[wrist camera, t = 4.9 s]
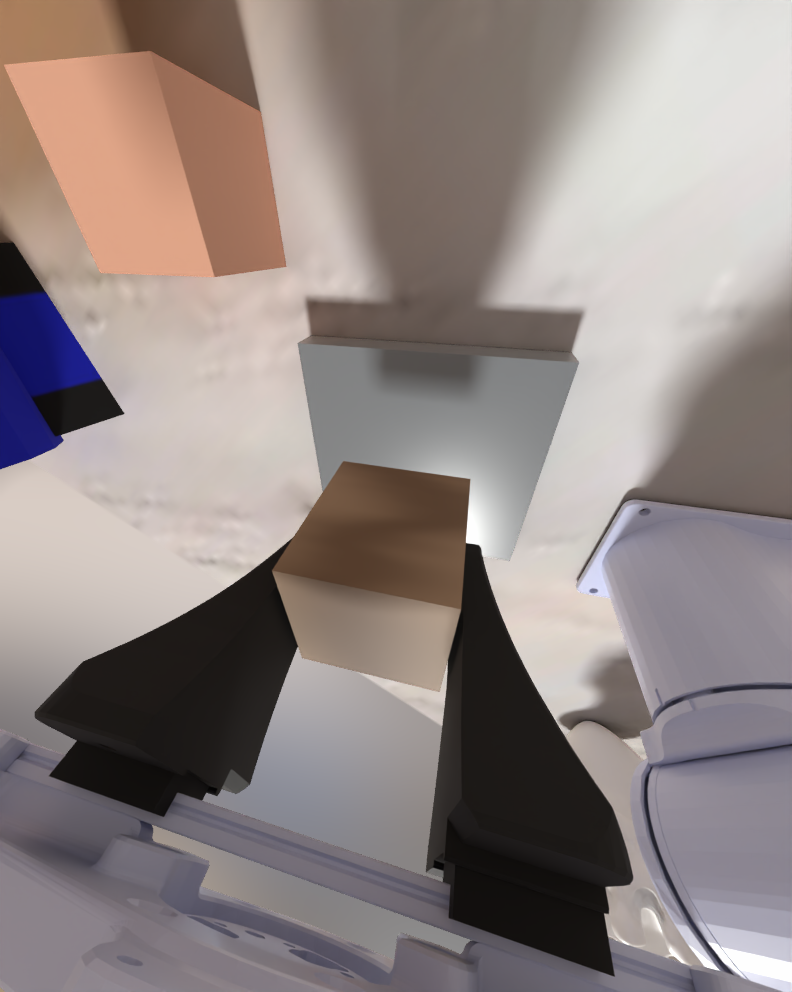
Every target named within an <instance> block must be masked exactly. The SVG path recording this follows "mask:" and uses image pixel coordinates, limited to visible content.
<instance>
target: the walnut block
mask: <svg viewBox="0 0 792 992" xmlns="http://www.w3.org/2000/svg"><path fill="white" fill-rule="evenodd" d="M470 480H471V479H467V478H460V477H453V476H446V475H439V474H432V473H425V472H418V471H411V470H403V469H396V468H389V467H382V466H375V465H368V464H361V463H354V462H347V461H343V462H342V464H341V465H340V467H339V468H338V470H337V471H336V473H335V474H334V476H333V477H332V479H331V480H330V482H329V484H328V485H327V487H326V488H325V490H324V491H323V493H322V494H321V496H320V497H319V499H318V500H317V502H316V504H315V505H314V507H313V508H312V510H311V511H310V513H309V514H308V516H307V517H306V519H305V520H304V522H303V524H302V525H301V527H300V528H299V530H298V531H297V533H296V534H295V536H294V537H293V539H292V540H291V542H290V544H289V545H288V547H287V548H286V550H285V551H284V553H283V554H282V556H281V557H280V559H279V560H278V562H277V564H276V565H275V567H274V568H273V570H272V572H273V575H274V578H275V581H276V584H277V587H278V590H279V592H280V595H281V598H282V601H283V604H284V607H285V610H286V613H287V616H288V619H289V621H290V624H291V627H292V630H293V633H294V636H295V639H296V642H297V645H298V647H299V650H300V653H301V656H302V658H304V659H308V660H312V661H316V662H320V663H325V664H328V665H333V666H336V667H340V668H344V669H348V670H353V671H357V672H361V673H365V674H369V675H373V676H377V677H381V678H385V679H389V680H393V681H397V682H401V683H405V684H409V685H413V686H417V687H421V688H425V689H429V690H433V691H438V692H440V688H441V684H442V681H443V677H444V673H445V669H446V665H447V661H448V658H449V654H450V650H451V646H452V642H453V638H454V635H455V631H456V627H457V623H458V619H459V615H460V612H461V604H462V590H463V576H464V562H465V549H466V535H467V521H468V507H469V493H470Z"/></svg>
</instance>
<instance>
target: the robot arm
mask: <svg viewBox="0 0 792 992" xmlns="http://www.w3.org/2000/svg"><path fill="white" fill-rule="evenodd" d="M646 508H647V509H646ZM642 509H646V510H644V511H640V510H642ZM292 539H293V538H292ZM292 539H291V540H292ZM291 540H289V541H288V542H287V543H286V544H285V545H284V546H282V547H281V548H280V549H279V550H277V551H276V552H275V553H274V554H273V555H271V556H270V557H269V558H268V559H266V560H265V561H264V562H262V563H261V564H260V565H259V566H257V567H256V568H255V569H253V570H252V571H251V572H249V573H248V574H247V575H245V576H244V577H242V578H241V579H240V580H238V581H237V582H235V583H234V584H232V585H231V586H229V587H228V588H226V589H225V590H223V591H222V592H220V593H219V594H217V595H215V596H214V597H213V598H211V599H209V600H207V601H206V602H204V603H202V604H200V605H199V606H197V607H195V608H194V609H192V610H190V611H188V612H187V613H185V614H183V615H181V616H180V617H178V618H176V619H174V620H172V621H170V622H168V623H166V624H164V625H162V626H160V627H159V628H156V629H154V630H153V631H150V632H148V633H146V634H144V635H142V636H140V637H138V638H136V639H134V640H132V641H130V642H127V643H125V644H123V645H120V646H118V647H116V648H113V649H111V650H109V651H107V652H104V653H102V654H100V655H97V656H95V657H93V658H91V659H88V660H86V661H83V662H82V663H81V664H80V665H79V666H78V667H77V668H76V669H75V670H74V671H73V672H72V674H71V675H70V676H69V677H68V678H67V679H66V680H65V681H64V682H63V683H62V684H61V685H60V686H59V687H58V688H57V689H56V690H55V691H54V692H53V693H52V694H51V696H50V697H49V698H48V699H47V700H46V701H45V702H44V703H43V704H42V705H41V706H40V707H39V708H38V709H37V710H36V711H35V718H36V719H37V720H39V721H40V722H42V723H44V724H46V725H47V726H49V727H51V728H53V729H55V730H57V731H59V732H61V733H63V734H65V735H67V736H69V737H71V738H73V739H75V740H77V742H76V743H75V744H74V745H73V747H72V748H71V749H70V750H69V751H68V753H67V754H66V755H65V754H62V753H59V752H56V751H53V750H50V749H47V748H44V747H42V746H39V745H35V744H33V743H30V742H29V741H28V740H27V739H25V738H22V737H20V736H18V735H15V734H13V733H10V732H8V731H5V730H2V729H0V987H1V988H2V989H3V990H4V991H5V992H792V520H791V519H783V518H775V517H767V516H760V515H752V514H744V513H736V512H729V511H721V510H713V509H706V508H698V507H690V506H682V505H675V504H667V503H659V502H652V501H644V500H629V501H627V502H625V503H624V504H623V505H622V507H621V508H620V510H619V512H618V514H617V515H616V517H615V519H614V520H613V522H612V524H611V526H610V527H609V529H608V531H607V532H606V534H605V536H604V538H603V539H602V541H601V543H600V544H599V546H598V548H597V549H596V551H595V553H594V555H593V556H592V558H591V560H590V561H589V563H588V565H587V567H586V568H585V570H584V572H583V573H582V575H581V577H580V579H579V580H578V582H577V584H576V587H577V590H578V591H579V592H580V593H583V594H589V595H595V596H600V597H606V598H610V599H611V602H612V605H613V608H614V611H615V614H616V617H617V620H618V623H619V626H620V629H621V632H622V634H623V637H624V640H625V643H626V646H627V649H628V652H629V655H630V658H631V661H632V664H633V667H634V670H635V673H636V675H637V678H638V681H639V684H640V687H641V690H642V693H643V696H644V699H645V702H646V705H647V708H648V711H649V713H650V716H651V719H652V722H653V726H652V727H650V728H648V729H646V730H643V731H641V732H640V735H641V738H642V742H643V745H644V748H645V751H646V755H647V759H645V760H643V761H642V762H640V763H639V765H638V766H637V767H636V769H635V771H634V773H633V776H632V780H631V786H630V806H631V814H632V821H633V825H634V830H635V835H636V839H637V842H638V845H639V848H640V852H641V855H642V858H643V860H644V863H645V865H646V868H647V871H648V873H649V876H650V878H651V880H652V882H653V885H654V887H655V889H656V891H657V893H658V895H659V897H660V899H661V901H662V903H663V905H664V907H665V908H666V910H667V912H668V914H669V916H670V917H671V919H672V921H673V923H674V924H675V926H676V927H677V929H678V931H679V932H680V934H681V935H682V937H683V938H684V940H685V941H686V943H687V944H688V946H689V947H690V948H691V950H692V951H693V952H694V954H695V955H696V956H697V957H698V959H699V960H700V961H701V963H702V964H703V965H704V966H700V965H694V964H693V965H692V966H689V965H686V964H683V963H681V962H677V961H674V960H672V959H669V958H666V957H663V956H660V955H657V954H654V953H651V952H648V951H645V950H642V949H639V948H636V947H633V946H630V945H627V944H624V943H621V942H618V941H615V940H612V939H610V938H608V933H607V927H606V922H605V916H604V913H605V914H609V904H608V899H607V893H606V888H605V887H614V886H626V885H630V884H631V882H632V881H633V873H632V868H631V863H630V859H629V855H628V851H627V848H626V845H625V842H624V839H623V835H622V832H621V829H620V826H619V824H618V821H617V818H616V815H615V813H614V810H613V808H612V806H611V804H610V803H609V801H608V800H607V798H606V797H605V796H604V794H603V793H602V791H601V790H600V788H599V787H598V786H597V784H596V783H595V781H594V780H593V778H592V777H591V775H590V774H589V772H588V771H587V769H586V768H585V766H584V765H583V764H582V762H581V761H580V759H579V758H578V756H577V755H576V753H575V751H574V750H573V748H572V747H571V745H570V744H569V742H568V740H567V739H566V737H565V736H564V734H563V733H562V731H561V730H560V728H559V726H558V725H557V723H556V721H555V720H554V718H553V716H552V714H551V713H550V711H549V709H548V708H547V706H546V704H545V703H544V701H543V699H542V697H541V696H540V694H539V692H538V691H537V689H536V687H535V685H534V683H533V682H532V680H531V678H530V676H529V674H528V672H527V670H526V668H525V667H524V665H523V662H522V660H521V658H520V656H519V654H518V652H517V650H516V648H515V646H514V644H513V642H512V640H511V637H510V635H509V633H508V631H507V628H506V626H505V623H504V621H503V619H502V616H501V614H500V611H499V609H498V606H497V603H496V600H495V597H494V595H493V592H492V589H491V586H490V583H489V579H488V576H487V572H486V569H485V565H484V561H483V556H482V550H481V547H480V546H479V545H476V544H470V543H466V549H465V562H464V576H463V590H462V604H461V612H460V615H459V619H458V623H457V627H456V631H455V635H454V638H453V642H452V646H451V650H450V654H449V658H448V674H447V689H446V698H445V708H444V717H443V726H442V735H441V744H440V754H439V762H438V771H437V779H436V788H435V796H434V805H433V813H432V822H431V829H430V838H429V845H428V855H427V865H426V872H427V873H429V874H433V875H435V876H439V877H442V878H443V882H441V881H438V880H435V879H432V878H429V877H426V876H423V875H420V874H417V873H414V872H411V871H408V870H405V869H402V868H399V867H396V866H393V865H390V864H388V863H384V862H382V861H379V860H376V859H373V858H370V857H366V856H364V855H361V854H358V853H355V852H352V851H349V850H346V849H343V848H340V847H337V846H334V845H331V844H328V843H325V842H323V841H320V840H316V839H314V838H311V837H308V836H304V835H302V834H299V833H295V832H293V831H290V830H287V829H284V828H281V827H278V826H275V825H272V824H269V823H266V822H263V821H260V820H257V819H255V818H251V817H249V816H245V815H243V814H240V813H237V812H234V811H231V810H228V809H225V808H222V807H219V806H216V805H213V804H210V803H207V802H204V801H202V800H203V798H204V796H205V794H206V793H209V794H212V795H215V796H218V794H219V793H220V791H221V789H223V790H226V791H229V792H232V793H235V794H237V793H239V792H241V791H242V790H244V789H245V788H246V787H248V785H250V782H251V779H252V775H253V773H254V769H255V766H256V763H257V760H258V756H259V753H260V750H261V747H262V744H263V741H264V737H265V735H266V732H267V729H268V726H269V723H270V720H271V717H272V714H273V711H274V708H275V705H276V703H277V700H278V697H279V694H280V692H281V689H282V686H283V683H284V680H285V678H286V675H287V673H288V670H289V667H290V665H291V662H292V660H293V657H294V654H295V652H296V649H297V647H298V645H297V642H296V639H295V636H294V633H293V630H292V627H291V624H290V621H289V619H288V616H287V613H286V610H285V607H284V604H283V601H282V598H281V595H280V592H279V590H278V587H277V584H276V581H275V578H274V575H273V572H272V570H273V568H274V567H275V565H276V564H277V562H278V560H279V559H280V557H281V556H282V554H283V553H284V551H285V550H286V548H287V547H288V545H289V544H290V542H291ZM151 824H152V825H155V826H157V827H160V828H163V829H166V830H168V831H171V832H174V833H177V834H179V835H182V836H185V837H188V838H190V839H193V840H196V841H199V842H202V843H204V844H207V845H210V846H213V847H215V848H218V849H221V850H224V851H227V852H229V853H232V854H235V855H237V856H240V857H243V858H246V859H249V860H251V861H254V862H257V863H260V864H263V865H265V866H268V867H271V868H273V869H276V870H279V871H282V872H285V873H287V874H290V875H293V876H296V877H298V878H301V879H304V880H307V881H309V882H312V883H315V884H318V885H321V886H323V887H326V888H329V889H332V890H334V891H337V892H340V893H343V894H345V895H348V896H351V897H354V898H357V899H359V900H362V901H365V902H368V903H370V904H373V905H376V906H379V907H382V908H384V909H387V910H390V911H393V912H396V913H398V914H401V915H404V916H406V917H409V918H412V919H415V920H417V921H420V922H423V923H426V924H429V925H432V926H434V927H437V928H440V929H443V930H445V931H448V932H451V933H454V934H456V935H459V936H462V937H465V938H467V939H470V940H473V941H470V942H469V943H467V944H466V946H465V948H464V951H463V952H462V953H461V954H458V953H456V952H454V951H452V950H450V949H448V948H445V947H442V946H440V945H437V944H434V943H431V942H428V941H425V940H422V939H419V938H416V937H413V936H410V935H407V934H404V933H400V934H399V935H398V936H397V944H396V951H395V959H394V960H393V959H391V958H388V957H386V956H384V955H381V954H379V953H377V952H374V951H372V950H370V949H367V948H365V947H362V946H360V945H358V944H356V943H353V942H351V941H348V940H346V939H344V938H341V937H339V936H337V935H334V934H332V933H329V932H327V931H324V930H321V929H319V928H317V927H314V926H311V925H309V924H306V923H304V922H301V921H298V920H296V919H293V918H290V917H288V916H285V915H282V914H279V913H277V912H273V911H271V910H268V909H265V908H262V907H260V906H257V905H254V904H251V903H248V902H245V901H242V900H239V899H236V898H233V897H230V896H227V895H225V894H222V893H219V892H216V891H213V890H210V889H207V888H204V887H201V883H202V881H203V879H204V877H205V874H206V872H207V870H208V868H209V861H208V860H205V859H203V858H201V857H198V856H196V855H194V854H191V853H189V852H186V851H183V850H180V849H177V848H174V847H171V846H168V845H164V844H161V843H157V842H154V841H153V839H152V835H153V827H152V825H151Z"/></svg>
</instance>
